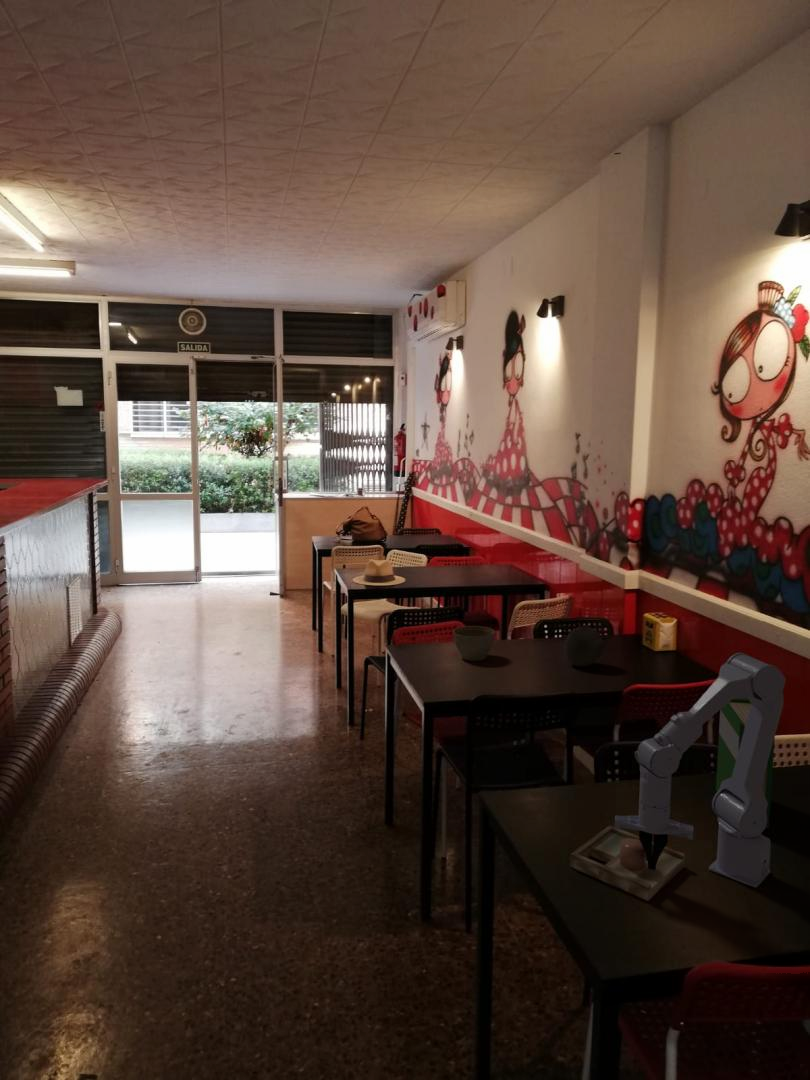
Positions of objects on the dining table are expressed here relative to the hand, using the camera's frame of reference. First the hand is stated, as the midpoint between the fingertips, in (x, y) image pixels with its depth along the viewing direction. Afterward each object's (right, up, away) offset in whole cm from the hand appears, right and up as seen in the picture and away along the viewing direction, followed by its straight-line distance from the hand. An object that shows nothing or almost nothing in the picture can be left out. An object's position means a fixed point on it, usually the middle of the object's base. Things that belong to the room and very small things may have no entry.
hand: (651, 866), depth 152 cm
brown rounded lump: (-3, -1, +4) cm, 5 cm away
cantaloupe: (+19, +16, +141) cm, 144 cm away
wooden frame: (-3, -3, +6) cm, 7 cm away
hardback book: (+31, +1, +30) cm, 43 cm away
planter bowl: (-22, +18, +152) cm, 155 cm away
